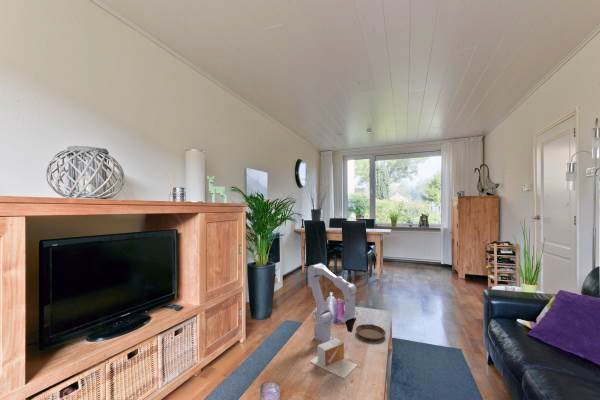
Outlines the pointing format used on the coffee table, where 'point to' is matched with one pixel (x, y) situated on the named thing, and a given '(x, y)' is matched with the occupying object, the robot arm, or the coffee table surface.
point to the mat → (337, 367)
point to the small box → (330, 352)
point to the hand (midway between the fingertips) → (349, 331)
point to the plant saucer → (370, 332)
